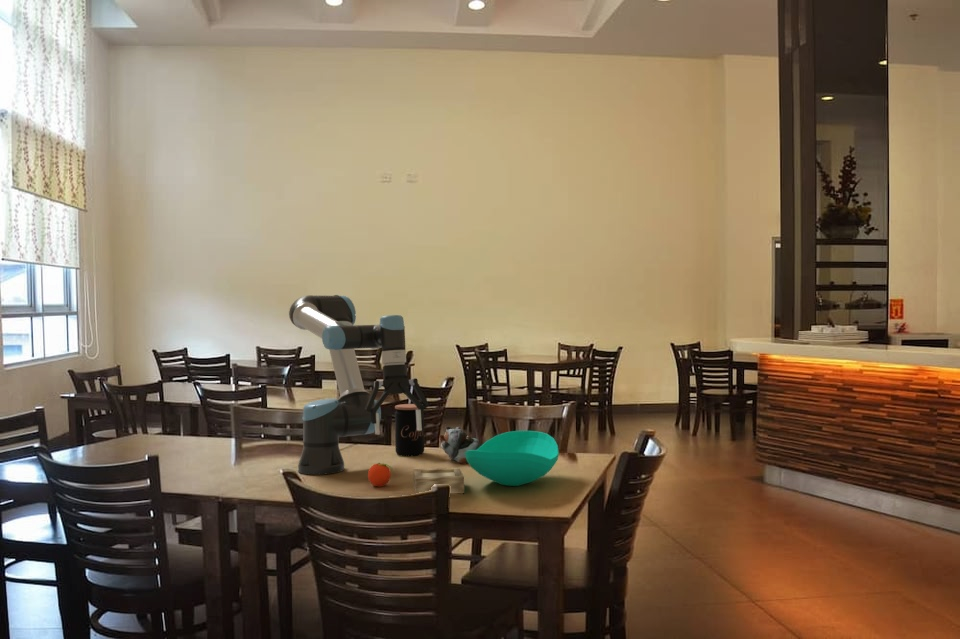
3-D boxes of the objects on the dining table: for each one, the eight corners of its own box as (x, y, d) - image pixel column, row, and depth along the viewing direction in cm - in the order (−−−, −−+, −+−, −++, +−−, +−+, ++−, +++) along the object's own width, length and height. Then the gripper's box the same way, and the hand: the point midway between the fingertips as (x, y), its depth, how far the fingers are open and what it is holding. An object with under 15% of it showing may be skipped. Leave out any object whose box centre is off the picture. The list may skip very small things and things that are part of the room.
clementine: (396, 483, 244) (396, 460, 243) (391, 489, 237) (391, 465, 237) (370, 483, 244) (370, 460, 244) (365, 488, 237) (365, 465, 237)
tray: (415, 495, 228) (415, 479, 228) (414, 484, 242) (413, 469, 242) (464, 493, 229) (464, 477, 229) (459, 483, 243) (459, 467, 243)
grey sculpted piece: (472, 465, 270) (451, 430, 269) (446, 475, 277) (426, 441, 276) (491, 446, 283) (472, 412, 282) (466, 456, 289) (447, 423, 288)
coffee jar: (399, 457, 286) (398, 408, 286) (392, 452, 297) (392, 404, 296) (427, 455, 290) (427, 406, 290) (420, 450, 300) (419, 403, 300)
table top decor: (489, 468, 265) (489, 429, 265) (570, 473, 257) (570, 432, 256) (447, 495, 228) (446, 449, 228) (540, 501, 219) (540, 454, 219)
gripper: (358, 366, 240) (362, 436, 239) (435, 361, 250) (440, 429, 248) (352, 367, 247) (356, 435, 246) (428, 362, 257) (432, 428, 255)
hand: (398, 432), depth 247 cm, fingers open, 13 cm apart
